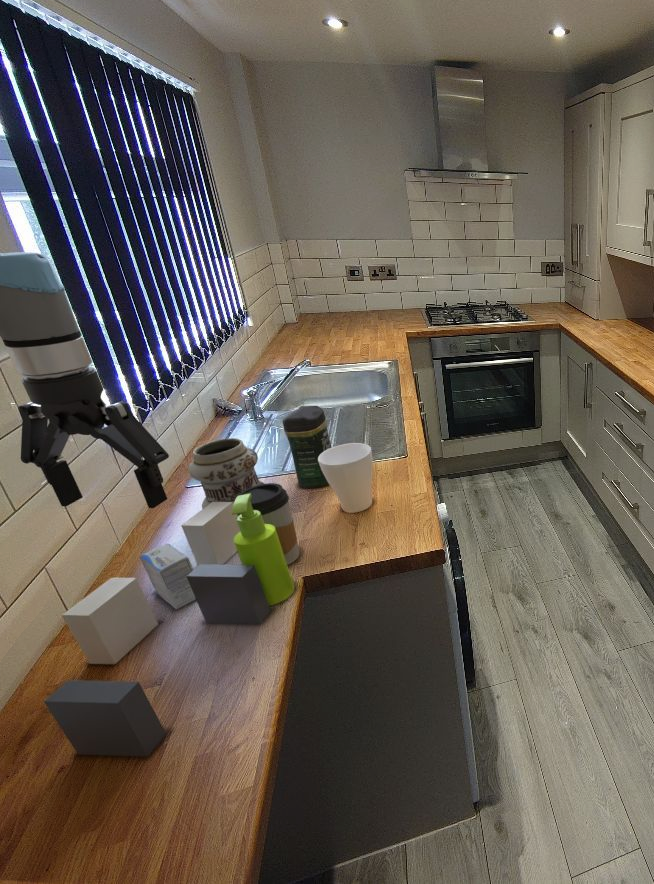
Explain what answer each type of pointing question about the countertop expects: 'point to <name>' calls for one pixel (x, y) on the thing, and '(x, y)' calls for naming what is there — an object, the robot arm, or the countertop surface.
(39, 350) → the robot arm
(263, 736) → the countertop surface
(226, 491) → the apothecary jar
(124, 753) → the grey block near
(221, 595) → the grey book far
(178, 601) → the medicine box
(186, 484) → the countertop surface
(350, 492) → the cup
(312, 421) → the coffee jar
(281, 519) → the coffee cup
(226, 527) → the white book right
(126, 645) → the white rectangular block
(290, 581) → the soap dispenser
